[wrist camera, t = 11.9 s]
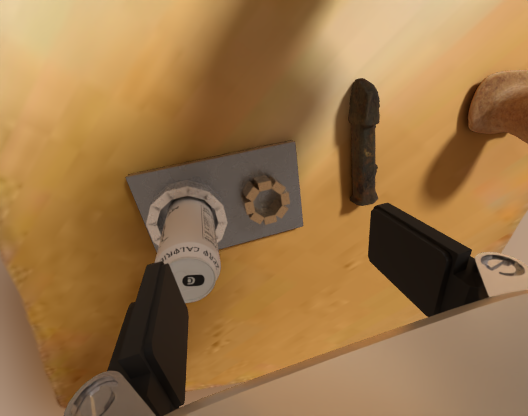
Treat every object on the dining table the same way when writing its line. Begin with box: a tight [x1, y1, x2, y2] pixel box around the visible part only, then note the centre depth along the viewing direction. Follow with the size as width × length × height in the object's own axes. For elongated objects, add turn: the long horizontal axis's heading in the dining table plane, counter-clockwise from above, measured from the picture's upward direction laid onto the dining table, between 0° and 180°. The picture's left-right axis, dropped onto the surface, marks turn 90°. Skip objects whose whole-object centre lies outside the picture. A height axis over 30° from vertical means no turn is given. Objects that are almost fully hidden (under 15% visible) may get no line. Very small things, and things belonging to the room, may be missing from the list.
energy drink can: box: [155, 196, 221, 303], centre depth 28 cm, size 6×6×15 cm
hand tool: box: [349, 78, 380, 206], centre depth 37 cm, size 19×4×5 cm, turn 9°
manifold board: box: [125, 140, 303, 252], centre depth 35 cm, size 23×14×4 cm, turn 99°
